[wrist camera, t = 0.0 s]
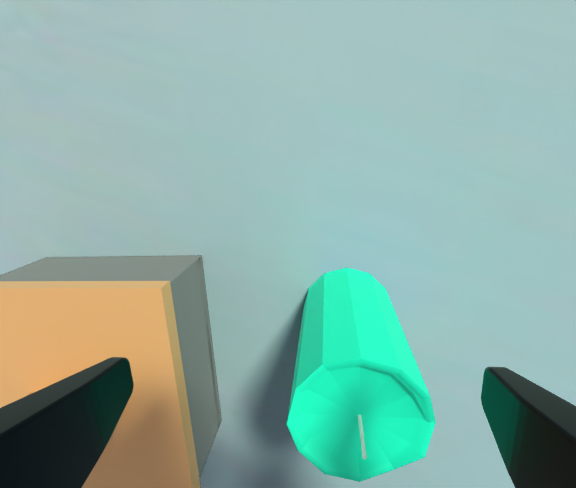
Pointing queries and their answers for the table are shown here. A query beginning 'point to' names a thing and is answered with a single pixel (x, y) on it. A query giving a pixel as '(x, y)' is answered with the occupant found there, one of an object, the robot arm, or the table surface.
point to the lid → (96, 348)
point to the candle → (356, 382)
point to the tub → (188, 314)
